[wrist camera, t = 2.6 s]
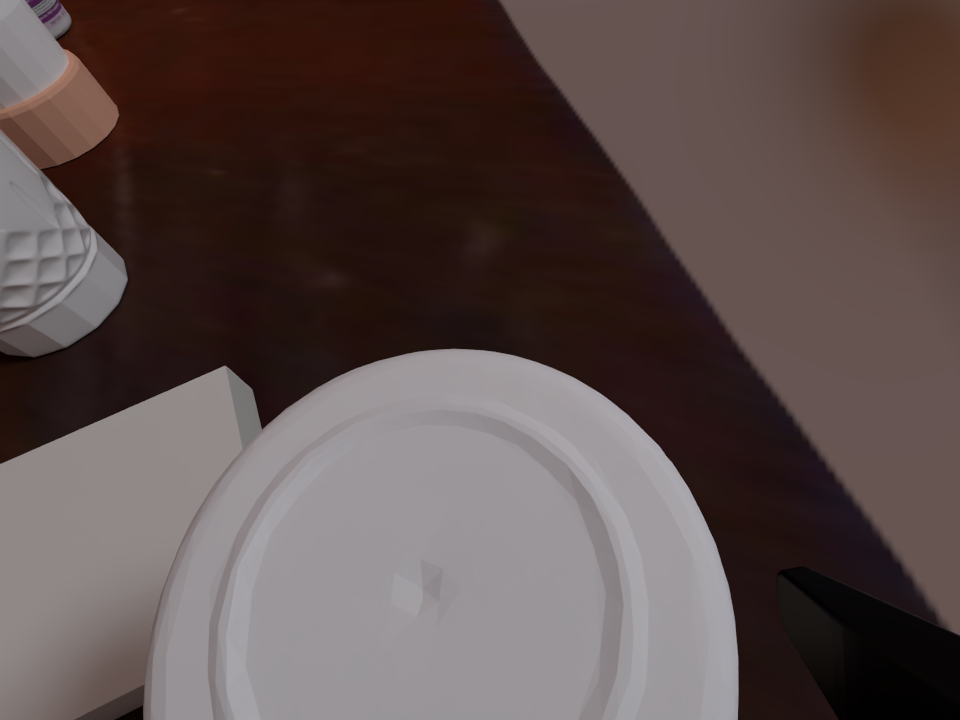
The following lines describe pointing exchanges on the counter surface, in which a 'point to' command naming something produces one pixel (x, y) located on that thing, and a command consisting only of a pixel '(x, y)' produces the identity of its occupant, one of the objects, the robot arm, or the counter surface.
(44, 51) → the pepper shaker
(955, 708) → the robot arm
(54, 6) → the pill bottle
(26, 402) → the counter surface
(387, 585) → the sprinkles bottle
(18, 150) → the white cup
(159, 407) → the block
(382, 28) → the counter surface
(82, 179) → the counter surface
